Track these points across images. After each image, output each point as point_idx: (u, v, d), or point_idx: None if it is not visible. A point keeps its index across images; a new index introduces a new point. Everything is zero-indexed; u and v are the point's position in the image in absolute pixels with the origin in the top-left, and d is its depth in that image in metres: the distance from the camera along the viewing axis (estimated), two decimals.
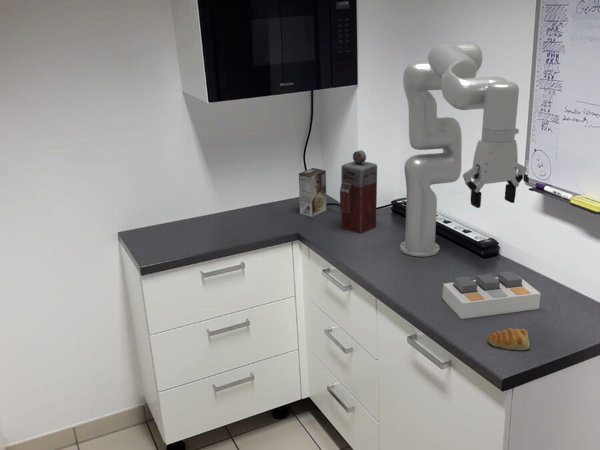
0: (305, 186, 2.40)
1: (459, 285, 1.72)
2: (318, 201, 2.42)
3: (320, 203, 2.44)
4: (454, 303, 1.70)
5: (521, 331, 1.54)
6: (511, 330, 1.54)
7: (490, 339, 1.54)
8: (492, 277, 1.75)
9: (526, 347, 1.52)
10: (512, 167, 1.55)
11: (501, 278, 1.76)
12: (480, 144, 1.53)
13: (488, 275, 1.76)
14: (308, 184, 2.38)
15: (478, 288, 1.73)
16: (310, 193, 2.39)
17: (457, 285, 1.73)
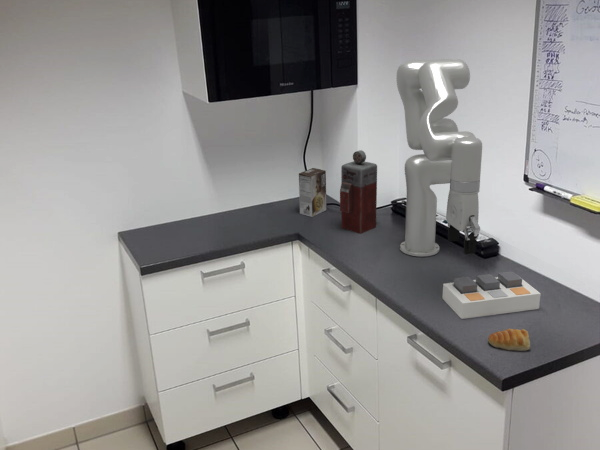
0: (305, 186, 2.40)
1: (459, 285, 1.72)
2: (318, 201, 2.42)
3: (320, 203, 2.44)
4: (454, 303, 1.70)
5: (522, 331, 1.54)
6: (512, 331, 1.54)
7: (491, 340, 1.54)
8: (492, 277, 1.75)
9: (527, 347, 1.52)
10: None
11: (501, 278, 1.76)
12: (471, 197, 1.64)
13: (488, 275, 1.76)
14: (308, 184, 2.38)
15: (478, 288, 1.73)
16: (310, 193, 2.39)
17: (457, 285, 1.73)
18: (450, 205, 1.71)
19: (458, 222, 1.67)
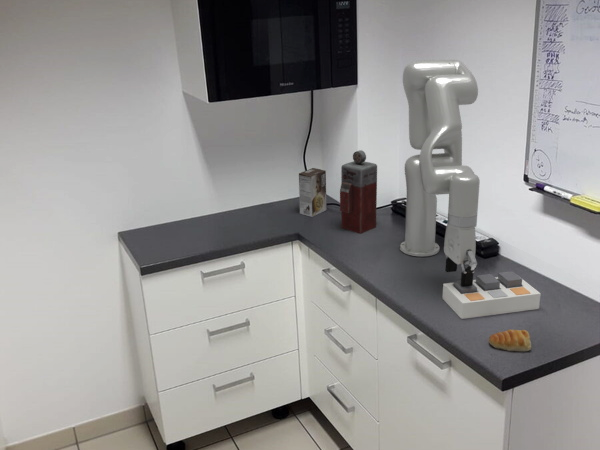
0: (305, 186, 2.40)
1: (459, 288, 1.72)
2: (318, 201, 2.43)
3: (320, 203, 2.44)
4: (454, 303, 1.70)
5: (522, 332, 1.54)
6: (512, 331, 1.54)
7: (492, 341, 1.53)
8: (492, 277, 1.75)
9: (528, 348, 1.51)
10: None
11: (501, 278, 1.76)
12: (468, 232, 1.68)
13: (488, 275, 1.76)
14: (308, 184, 2.38)
15: (478, 288, 1.73)
16: (310, 193, 2.39)
17: (457, 289, 1.73)
18: (448, 238, 1.74)
19: (455, 256, 1.71)
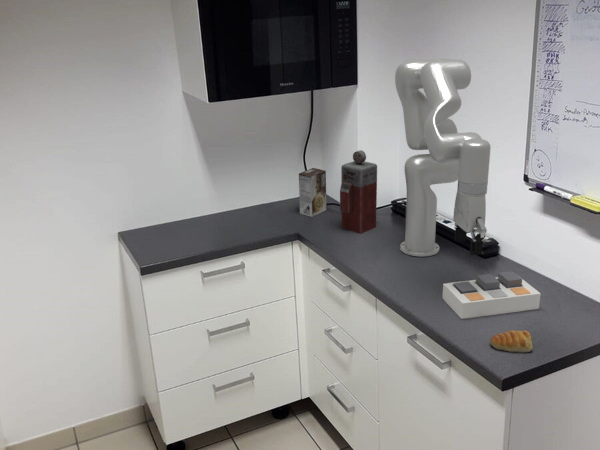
0: (305, 186, 2.40)
1: (459, 290, 1.72)
2: (318, 201, 2.42)
3: (320, 203, 2.44)
4: (454, 303, 1.70)
5: (523, 333, 1.53)
6: (513, 332, 1.54)
7: (493, 342, 1.53)
8: (492, 277, 1.75)
9: (529, 349, 1.51)
10: None
11: (501, 278, 1.76)
12: (478, 199, 1.65)
13: (488, 275, 1.76)
14: (308, 184, 2.38)
15: (478, 288, 1.73)
16: (310, 193, 2.39)
17: None
18: (457, 206, 1.72)
19: (465, 223, 1.68)
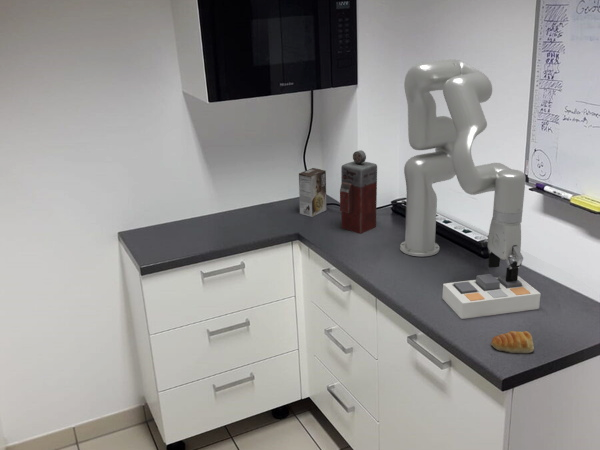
0: (305, 186, 2.40)
1: (459, 290, 1.72)
2: (318, 201, 2.43)
3: (320, 203, 2.44)
4: (454, 303, 1.70)
5: (524, 334, 1.53)
6: (515, 333, 1.53)
7: (494, 343, 1.52)
8: (492, 277, 1.75)
9: (531, 350, 1.51)
10: None
11: (501, 282, 1.76)
12: (514, 228, 1.70)
13: (488, 275, 1.76)
14: (308, 184, 2.38)
15: (478, 288, 1.73)
16: (310, 193, 2.39)
17: None
18: (492, 234, 1.77)
19: (501, 251, 1.73)
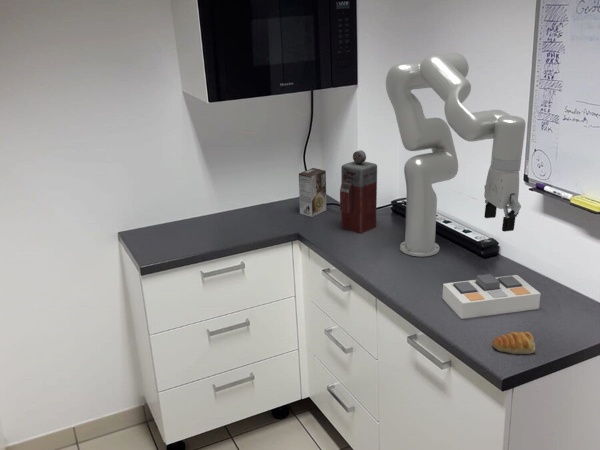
0: (305, 186, 2.40)
1: (459, 290, 1.72)
2: (318, 201, 2.42)
3: (320, 203, 2.44)
4: (454, 303, 1.70)
5: (526, 334, 1.53)
6: (516, 334, 1.53)
7: (496, 344, 1.52)
8: (492, 277, 1.75)
9: (532, 350, 1.50)
10: None
11: (501, 283, 1.76)
12: (512, 175, 1.66)
13: (488, 275, 1.76)
14: (308, 184, 2.38)
15: (478, 288, 1.73)
16: (310, 193, 2.39)
17: None
18: (490, 183, 1.73)
19: (498, 200, 1.70)
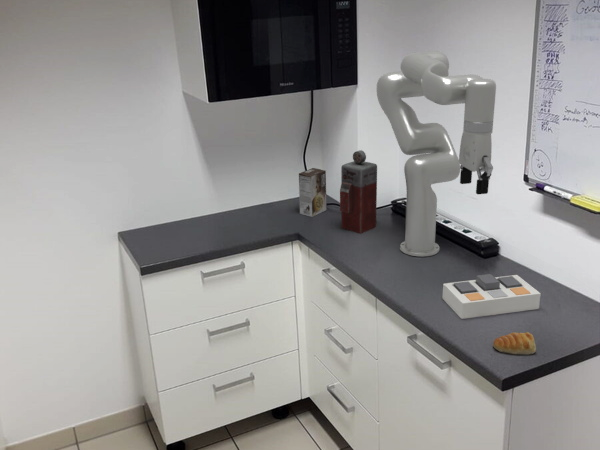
0: (305, 186, 2.40)
1: (459, 290, 1.72)
2: (318, 201, 2.43)
3: (320, 203, 2.44)
4: (454, 303, 1.70)
5: (526, 335, 1.53)
6: (516, 334, 1.53)
7: (496, 345, 1.52)
8: (492, 277, 1.75)
9: (533, 351, 1.50)
10: None
11: (501, 283, 1.76)
12: (484, 137, 1.68)
13: (488, 275, 1.76)
14: (308, 184, 2.38)
15: (478, 288, 1.73)
16: (310, 193, 2.39)
17: None
18: (463, 147, 1.75)
19: (471, 163, 1.71)
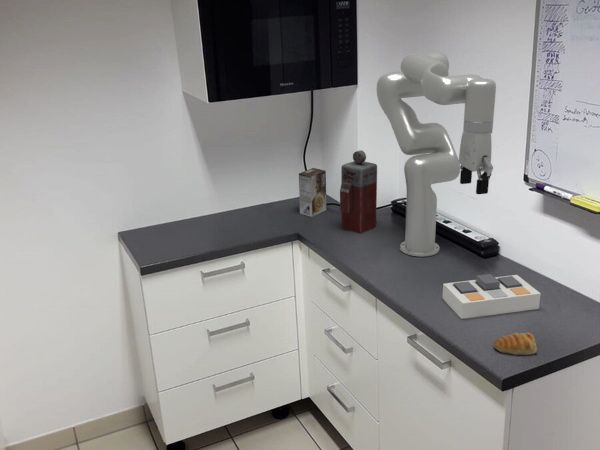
0: (305, 186, 2.40)
1: (459, 290, 1.72)
2: (318, 201, 2.42)
3: (320, 203, 2.44)
4: (454, 303, 1.70)
5: (527, 335, 1.52)
6: (517, 335, 1.52)
7: (497, 345, 1.52)
8: (492, 277, 1.75)
9: (534, 351, 1.50)
10: None
11: (501, 283, 1.76)
12: (484, 137, 1.68)
13: (488, 275, 1.76)
14: (308, 184, 2.38)
15: (478, 288, 1.73)
16: (310, 193, 2.39)
17: None
18: (463, 147, 1.75)
19: (471, 162, 1.71)
